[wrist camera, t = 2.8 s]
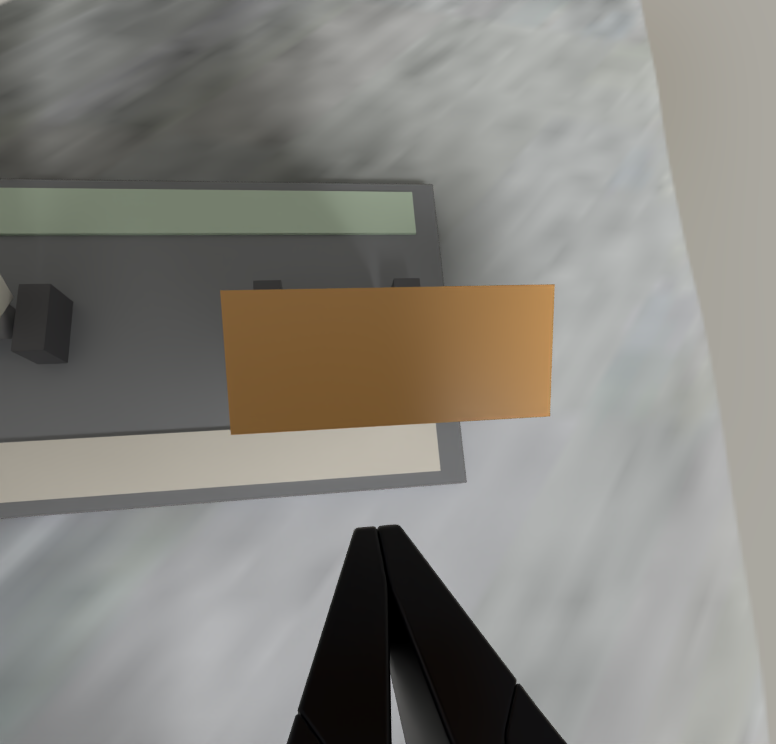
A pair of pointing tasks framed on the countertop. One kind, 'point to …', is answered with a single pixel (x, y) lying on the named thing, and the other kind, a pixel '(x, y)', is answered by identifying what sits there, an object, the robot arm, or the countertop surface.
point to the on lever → (6, 311)
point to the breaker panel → (188, 339)
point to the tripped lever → (386, 356)
